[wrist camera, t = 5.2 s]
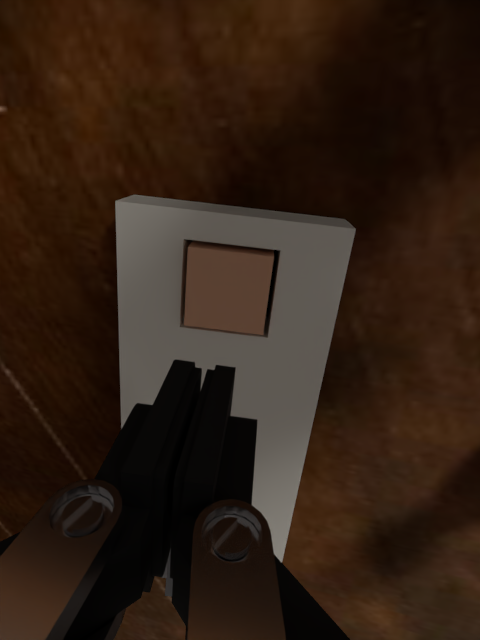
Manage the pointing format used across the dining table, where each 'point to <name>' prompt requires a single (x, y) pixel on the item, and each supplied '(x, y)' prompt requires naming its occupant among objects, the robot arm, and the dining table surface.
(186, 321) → the push button
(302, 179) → the dining table surface
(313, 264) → the control panel
